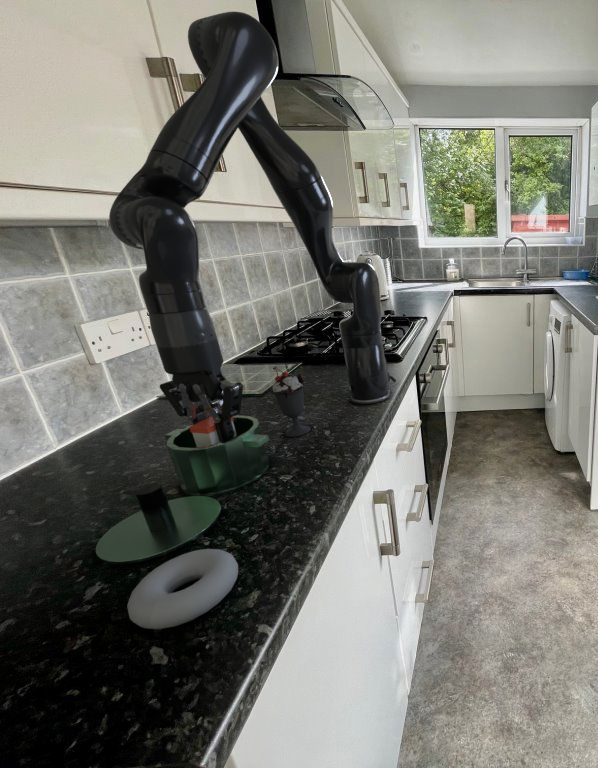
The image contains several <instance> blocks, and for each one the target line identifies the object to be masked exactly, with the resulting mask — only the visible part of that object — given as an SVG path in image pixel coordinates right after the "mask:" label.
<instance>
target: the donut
mask: <svg viewBox="0 0 598 768" xmlns="http://www.w3.org/2000/svg"><path fill="white" fill-rule="evenodd" d="M238 575H239V563H238V562H237V560H236V558H235V557H234V555H233V554H231V553H230V552H227V551H226V550H223V549H217V548H204V549H203V548H202V549H197V550H193V551H189V552H186V553H183V554H180V555H178V556H175V557H174V558H171V559H169V560H167V561H165V562H164V563H162V564H160V565H159V566H157V567H156V568H154V569H153V570H152V571H150V572H149V573H148V574H146V575H145V576H144V577H143V578H142V579H141V580H140V581H139V583H138V584H137V585H136V587H134V588H133V590H132V591H131V594H130V597H129V599H128V602H127V605H126V609H127V613H128V616H129V620H130V621H131V622H132V623H134V624H135V625H136V626H139V627H140V628H143V629H148V630H162V629H168V628H174V627H179V626H180V625H183V624H186V623H188V622H192V621H193V620H195V619H197V618H198V617H199V618H200V616H202V615H204V614H206V613H208V612H210V610H212V609H213V608H214V607H216V606H217V605H218V604H220V602H221V601H222V600H224V598H226V596H227V595H228V594H229V593H230V592H231V591H232V589H233V588H234V585H235V584H236V581H237V580H238ZM196 580H198V581H196ZM193 581H196V582H194V583H193V584H192V585H190V586H188V587H186V588H184V589H181V590H179V591H176V590H178V589H179V588H181V587H182V586H184V585H187V584H188V583H191V582H193Z"/></svg>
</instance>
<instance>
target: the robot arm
mask: <svg viewBox="0 0 598 768" xmlns="http://www.w3.org/2000/svg"><path fill="white" fill-rule="evenodd" d="M187 42H188V43H187V44H188V45H189V50H190V52H191V55H192V57H193V60H194V61H195V64H196V66H197V68H198V69H199V71H200V73H201V75H202V76H203V78H204V80H203V81H202V82H201V84H200V85H199V87H198V88H197V89H196V90H195V91H194V92H193V93H192V94H191V95H190V96H189V97H188V98H187V99H186V100H185V101H184V102H183V103H182V104H181V105H180V106H179V107H178V108H177V109H176V110H175V111H174V113H172V115H171V116H170V117H169V118H168V119H167V121H166V122H165V124H164V125H163V126H162V128H161V129H160V131H159V133H158V135H157V137H156V139H155V141H154V143H153V145H152V147H151V148H150V151H149V152H148V155H147V157H146V160H145V162H144V163H143V165H142V166H141V168H140V169H139V170H138V171H137V172H136V173H134V175H133V176H132V177H131V179H130V180H129V181H128V182H127V183H126V185H124V187H122V190H121V191H120V192H118V194H117V196H116V197H115V198H114V201H113V202H112V204H111V207H110V210H109V215H108V220H109V226H110V229H111V231H112V233H113V235H114V236H115V237H116V238H117V239H118V240H119V241H120V242H121V243H123V244H124V245H125V246H127V247H129V248H132V249H134V250H137V251H143V253H144V260H145V267H146V269H145V270H144V271H143V272H141V273H140V274H139V276H138V284H139V289H140V292H141V296H142V299H143V302H144V305H145V308H146V311H147V314H148V318H149V319H148V320H149V326H150V330H151V333H152V335H153V340H154V342H155V345H156V349H157V353H158V355H159V358H160V360H161V364H162V367H163V370H164V372H165V373H166V374H168V375H172V377H171V380H169V381H166V382H163V383H161V384H159V389H160V390H161V392H162V393H163V395H164V396H165V398H166V400H167V401H168V402H169V403H170V405H171V406H172V408H173V409H174V411H175V413H176V414H177V415H178V416H179V417H180V418H183V417H187V419H188V420H189V421H190V422H192V425H194V424H197V423H199V422H201V421H203V420H205V419H207V418H209V417H211V416H212V418H213V420H214V421H215V422H214V424H215V427H216V431H217V434H218V438H219V441H220V442H225V441H228V440H230V439H232V438H233V437H234V430H233V426H232V422H231V417H233V416H238V414H240V413H241V410H242V399H243V391H244V385H243V383H242V382H240V381H237V382H235V383H233V382H231V381H228V380H227V378H226V376H225V375H224V373H223V372H222V370H221V368H222V365H223V364H224V358H223V357H224V356H223V354H222V350H221V346H220V343H219V339H218V336H217V332H216V329H215V325H214V322H213V319H212V317H211V315H210V312H209V310H208V307H207V302H206V298H205V296H204V292H203V289H202V285H201V283H200V243H199V236H198V235H199V234H198V232H197V227H196V225H195V223H194V221H193V219H192V217H191V216H190V214H189V212H188V211H187V210H186V209H185V208H186V207H187V206H188V205H189V204H190V203H192V202H195V201H197V200H199V199H200V198H201V197H202V196H203V195H204V194H205V192H206V191H207V189H208V186H209V184H210V182H211V180H212V178H213V175H214V174H215V172H216V169H217V167H218V165H219V163H220V161H221V158H222V156H223V154H224V153H225V151H226V149H227V147H228V145H229V143H230V142H231V140H232V138H233V136H234V135H235V133H236V132H237V130H239V132H240V133H241V135H242V137H243V139H244V140H245V142H246V143H247V145H248V147H249V149H250V150H251V152H252V154H253V156H254V157H255V159H256V161H257V162H258V164H259V166H260V168H261V169H262V170H263V172H264V175H265V176H266V178H267V180H268V182H269V184H270V185H271V188H272V190H273V192H274V193H275V195H276V196H277V199H278V201H279V202H280V204H281V206H282V208H283V209H284V210H285V212H286V214H287V216H288V217H289V219H290V221H291V223H292V224H293V227H294V228H295V231H296V232H297V234H298V236H299V238H300V239H301V241H302V243H303V245H304V247H305V249H306V251H307V254H308V255H309V257H310V260H311V262H312V264H313V267H314V269H315V271H316V273H317V275H318V278H319V280H320V282H321V284H322V286H323V289H324V290H325V292H326V294H327V295H328V296H329V297H330V298H331V299H332V300H334V301H335V302H337V303H342V304H343V303H344V304H352V314H351V315H350V316H349V317H345V318H343V319H341V320H340V321H339V323H338V324H339V327H338V328H339V332H340V338H341V339H340V340H341V345H342V350H343V356H344V357H343V358H344V362H345V369H346V374H347V380H348V383H347V388H348V389H349V392H350V401H351V402H352V403H354V404H356V405H372V404H373V405H374V404H378V403H380V402H381V403H382V402H383V401H386V400H387V399H389V398H390V397H391V388H390V382H391V381H392V382H393V383H396V382H397V379H396V378H395V377H393V376H392V375H390V372H389V371H388V367H387V359H386V357H385V350H384V349H385V348H384V343H383V337H382V336H383V335H382V328H381V322H382V303H381V290H380V289H381V288H380V282H379V276H378V274H377V271H376V270H375V268H374V267H373V265H372V264H370V263H369V262H364V261H363V262H362V261H344V260H343V258H342V257H341V255H340V253H339V251H338V249H337V247H336V245H335V242H334V238H333V225H334V223H333V222H334V202H333V198H332V196H331V192H330V191H329V188H328V186H327V184H326V182H325V179H324V178H323V175H322V174H321V171H320V170H319V168H318V166H317V165H316V163H315V162H314V160H313V159H312V158H311V157H310V155H309V154H308V153H307V151H305V150H304V149H303V148H302V147H301V146H300V145H299V143H297V142H296V141H295V140H294V139H293V138H292V137H291V136H290V135H289V134H288V133H287V132H286V131H285V130H284V129H283V128H282V127H281V125H280V124H279V123H278V122H277V120H276V119H275V118H274V116H273V115H272V113H271V111H270V110H269V109H268V107H267V105H266V103H265V101H264V100H263V97H262V95H263V94H264V93H265V92H266V90H267V89H268V88H269V87H270V86H271V85H272V83H273V81H275V78H276V77H277V74H278V71H279V55H278V51H277V50H278V49H277V47H276V43H275V42H274V40H273V38H272V36H271V34H270V33H269V32H268V30H267V29H266V27H265V26H264V25H263V24H262V23H261V22H260V21H259V20H257V19H256V18H255V17H254V16H252V15H250V14H248V13H246V12H241V11H226V12H220V13H217V14H213V15H209V16H205V17H202V18H198V19H196V20H194V21H192V22H191V24H190V25H189V26H188V31H187ZM215 400H216V401H215ZM181 401H182V404H181V403H180V402H181ZM213 401H214V402H213ZM219 408H220V411H221V412H220V411H219ZM208 412H209V414H210V415H211V416H209V415H207V414H208Z"/></svg>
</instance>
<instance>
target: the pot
mask: <svg viewBox="0 0 598 768" xmlns="http://www.w3.org/2000/svg"><path fill="white" fill-rule="evenodd" d="M233 419H234V421H233V424H234V427H235V431H236V434H237V436H235V437H233V438H232V439H230V440H228V441H225V442H222V443H218V444H214V445H210V446H205V447H197V446H196V443H195V440H194V437H193V433H191V431H190V428H189V427H190V426H192V425H193V424H191V425H189V426H187V427H184V428H176V429H174V430H172V431H169V432H168V433H166V434H164V437H165V439H166V449H167V451H168V454H169V456H170V460H171V462H172V466H173V468H174V471H175V474H176V476H177V479H178V482H179V485H180V488H181V489H182V491H183V492H184V493H185V495H188V496H206V497H215V496H220V495H224V494H225V495H226V494H229V493H232V492H235V491H237V490H240V489H242V488H244V487H247V486H249V485H251V484H252V483H255V482H256V481H258V480H259V479H261V478H262V477H263V476H264V475H265V474H266V473H267V471H268V470H269V468H270V461H269V457H268V454H267V450H266V446H265V444H266V443H268V442H269V441H270V438H269V435H268V434H267V435H266V434H262V431H261V426H260V423H259V419H258V418H256V417H254V416H249V415H235V416H233Z"/></svg>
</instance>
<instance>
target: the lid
mask: <svg viewBox="0 0 598 768" xmlns="http://www.w3.org/2000/svg"><path fill="white" fill-rule="evenodd" d="M134 495H135V498H136V501H137V503H138V505H139V507H140V510H139V511H137V512H135V513H132V514H131V515H129V516H127V517H126V518H123V519H122V520H120V521H119V522H117V523H116V524H114V525H113V526H112V527H110V528H109V530H108V531H106V532H105V533H104V534H103V535H102V536H101V537H100V539H99V540H98V542H97V543H96V546H95V555H96V556H97V558H98V559H99V561H101V562H103V563H105V564H110V565H130V564H136V563H140V562H144V561H149V560H153V559H156V558H159V557H161V556H165V555H166V554H169V553H172V552H174V551H176V550H178V549H181V548H182V547H184V546H186V545H188V544H190V543H192V542H193V541H195V540H197V539H199V538H200V537H201V536H202V535H204V534H205V533H207V532H208V531H209V530H210V529H211V528H212V527H213V526H214V525H215V524H216V523H217V521H218V520H219V518H220V517H221V513H222V505H221V504H220V502H219V501H218V500H217V499H215V498H213V497H212V496H207V497H206V496H191V495H189V496H184V497H179V498H173V499H169V500H168V498H167V494H166V493H165V489H164V487H163V484H162V483H160V482H152V483H148V484H145V485H142V486H141V487H139V488H137V489H136V490H135V491H134Z"/></svg>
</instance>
